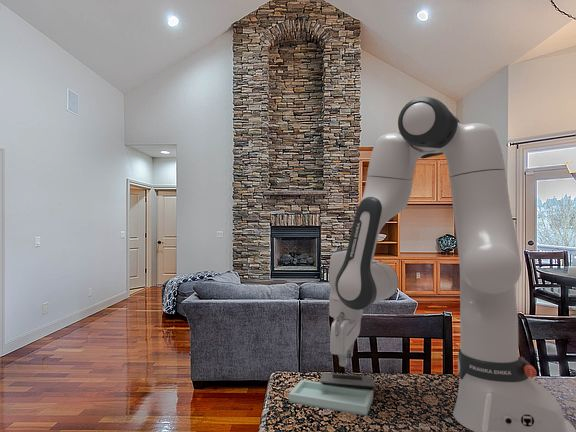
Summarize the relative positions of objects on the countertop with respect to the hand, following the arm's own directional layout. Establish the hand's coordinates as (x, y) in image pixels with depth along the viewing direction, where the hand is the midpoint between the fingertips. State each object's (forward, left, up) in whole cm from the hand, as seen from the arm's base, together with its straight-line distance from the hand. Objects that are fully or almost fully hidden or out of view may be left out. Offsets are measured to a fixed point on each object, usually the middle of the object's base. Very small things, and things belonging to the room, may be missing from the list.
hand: (346, 361), depth 104 cm
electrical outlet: (0, -1, -6) cm, 6 cm away
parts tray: (+1, +11, -6) cm, 13 cm away
